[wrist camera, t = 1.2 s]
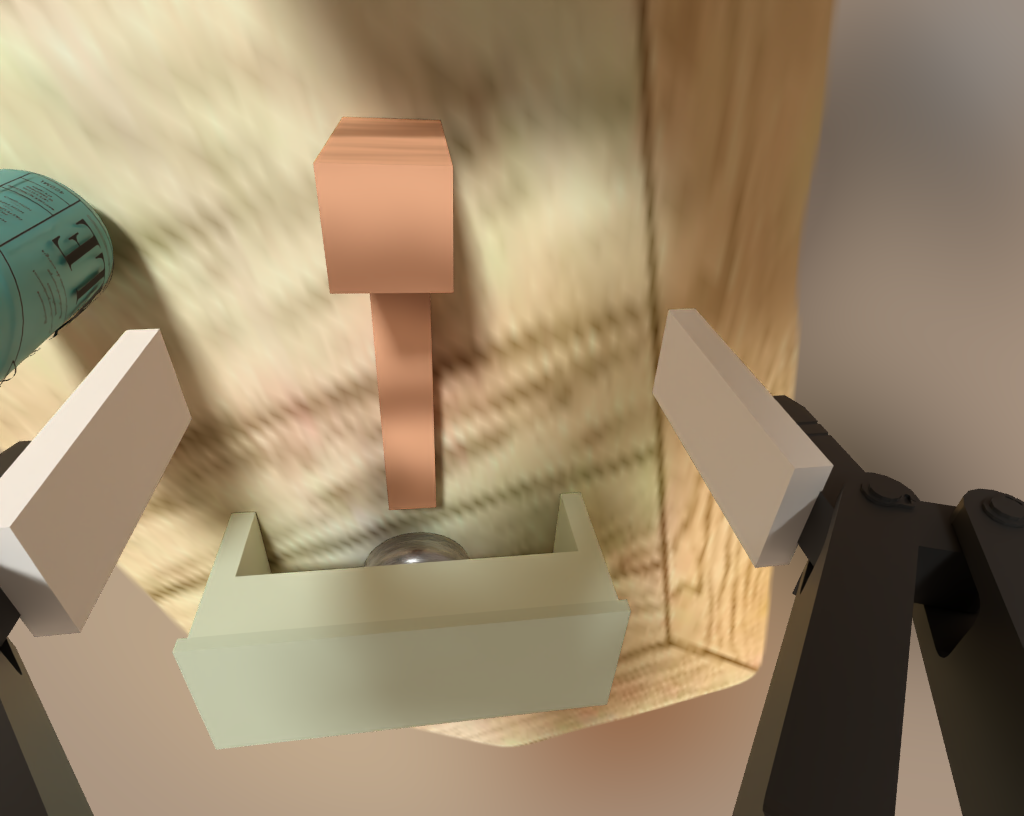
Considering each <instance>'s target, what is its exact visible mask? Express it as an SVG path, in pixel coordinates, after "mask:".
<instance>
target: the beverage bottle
mask: <svg viewBox="0 0 1024 816" xmlns="http://www.w3.org/2000/svg"><path fill="white" fill-rule="evenodd" d="M112 264H113V267H114V259H113V247H112V242H111V239H110V236H109V233H108V231H107V229H106V227H105V225H104V223H103V222H102V220H101V218H100V217H99V216H98V214H97V213H96V212H95V210H94V209H93V208H92V207H91V206H90V205H89V204H88V203H87V202H86V201H85V200H84V199H83V198H82V197H80V196H79V195H78V194H76V193H75V192H74V191H72V190H71V189H69V188H68V187H66V186H65V185H63V184H61V183H59V182H57V181H55V180H53V179H51V178H48V177H46V176H43V175H40V174H37V173H33V172H28V171H22V170H13V169H0V382H3V381H8V380H10V379H8V380H3V379H5V378H6V376H7V375H8V374H9V373H10V372H11V371H13V370H14V369H15V374H16V367H17V366H18V365H19V364H20V363H21V362H22V361H23V360H24V359H26V358H27V357H28V356H29V355H30V354H31V353H33V352H35V351H34V350H35V349H36V348H38V347H39V346H40V345H41V344H42V343H43V342H44V341H45V340H46V339H47V338H48V337H49V336H51V335H52V334H53V333H54V332H55V334H54V337H55V336H56V335H58V334H57V332H58V330H59V329H61V328H62V327H63V326H65V325H66V324H67V323H70V322H71V321H72V320H73V319H75V318H76V317H77V316H78V315H79V314H80V313H82V312H83V311H84V310H85V309H86V308H87V307H88V306H87V305H88V304H91V301H92V299H93V298H94V297H95V296H96V295H97V294H98V293H99V292H100V291H101V289H102V287H103V286H104V284H105V283H106V282H107V281H108V279H109V276H110V273H111V270H112ZM112 274H113V271H112ZM111 277H112V276H111ZM110 280H111V279H110ZM107 283H108V282H107ZM107 283H106V285H107ZM106 285H105V287H106ZM105 287H104V289H105ZM106 288H107V287H106ZM103 292H104V291H103ZM96 299H97V298H96ZM96 299H95V300H96ZM87 301H88V302H87ZM93 301H94V300H93ZM86 302H87V303H86ZM85 303H86V304H85ZM84 304H85V305H84ZM83 305H84V306H83ZM82 306H83V307H82ZM81 307H82V308H81ZM85 307H86V308H85ZM80 308H81V309H80ZM84 308H85V309H84ZM79 309H80V310H79ZM83 309H84V310H83ZM78 310H79V311H78ZM77 311H78V313H77V314H76V315H75V316H74V317H73V318H71V319H70V320H69V321H67V320H68V319H69V318H70V317H71V316H72V315H74V313H76V312H77ZM66 321H67V322H66ZM65 322H66V323H65ZM64 323H65V324H64ZM62 324H63V325H62ZM61 325H62V326H61ZM66 327H67V326H66ZM51 339H52V338H51ZM49 340H50V339H49ZM36 351H37V350H36ZM15 374H14V376H15ZM14 376H13V377H14ZM1 384H2V383H1ZM1 384H0V385H1ZM0 387H1V386H0Z"/></svg>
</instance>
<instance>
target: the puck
mask: <svg viewBox="0 0 1024 816" xmlns="http://www.w3.org/2000/svg"><path fill="white" fill-rule="evenodd" d="M466 559H469V558H468V555H467V553H466V552H465V550H464V549H463V548H462V547H461V546H460V545H459V544H458V543H456V542H455V541H453V540H451V539H450V538H447V537H445V536H442V535H438V534H433V533H424V532H418V533H408V534H403V535H399V536H396V537H393V538H391V539H388V540H386V541H385V542H383V543H381V544H380V545H378V546H377V547H376V548H375V549H374V550H373V551H372V552H371V553H370V554H369V556H368V558H367V559H366V562H365V565H364V567H372V566H385V565H398V564H412V563H425V562H439V561H452V560H466Z"/></svg>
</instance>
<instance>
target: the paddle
mask: <svg viewBox="0 0 1024 816" xmlns="http://www.w3.org/2000/svg"><path fill="white" fill-rule="evenodd" d="M313 164H314V172H315V180H316V188H317V195H318V203H319V211H320V219H321V226H322V234H323V242H324V250H325V258H326V265H327V273H328V281H329V289H330V294H335V293H370V300H371V311H372V322H373V334H374V345H375V356H376V367H377V379H378V390H379V401H380V413H381V424H382V435H383V447H384V458H385V469H386V480H387V492H388V503H389V510H398V509H415V508H431V507H436V485H435V449H434V413H433V377H432V341H431V305H430V293H453V165H452V161H451V158H450V154H449V150H448V146H447V143H446V139H445V135H444V132H443V128H442V124H441V120H418V119H390V118H361V117H342V119H341V120H340V122H339V123H338V125H337V127H336V128H335V130H334V131H333V133H332V134H331V136H330V138H329V139H328V141H327V142H326V144H325V145H324V147H323V149H322V150H321V152H320V153H319V155H318V156H317V158H316V160H315V161H314V163H313Z"/></svg>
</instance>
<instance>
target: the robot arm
mask: <svg viewBox="0 0 1024 816" xmlns="http://www.w3.org/2000/svg"><path fill="white" fill-rule="evenodd" d="M652 393H653V395H654V397H655V398H656V400H657V402H658V403H659V405H660V407H661V409H662V410H663V412H664V414H665V415H666V417H667V419H668V420H669V422H670V424H671V426H672V427H673V429H674V431H675V432H676V434H677V436H678V437H679V439H680V441H681V443H682V444H683V446H684V448H685V449H686V451H687V453H688V454H689V456H690V458H691V460H692V461H693V463H694V465H695V466H696V468H697V470H698V471H699V473H700V475H701V477H702V478H703V480H704V482H705V483H706V485H707V487H708V488H709V490H710V492H711V493H712V495H713V497H714V499H715V500H716V502H717V504H718V505H719V507H720V509H721V510H722V512H723V514H724V516H725V517H726V519H727V521H728V522H729V524H730V526H731V527H732V529H733V531H734V533H735V534H736V536H737V538H738V539H739V541H740V543H741V544H742V546H743V548H744V550H745V551H746V553H747V555H748V556H749V558H750V560H751V561H752V563H753V565H754V567H755V568H758V567H768V566H779V565H789V564H790V562H791V559H792V557H793V555H794V553H795V550H796V548H797V546H798V545H799V546H800V547H801V549H802V550H803V552H804V553H805V555H806V556H807V558H808V561H807V564H806V566H805V568H804V570H803V572H802V574H801V576H800V578H799V580H798V582H797V585H796V587H795V589H794V591H793V594H794V595H796V597H795V601H794V604H793V608H792V611H791V615H790V618H789V622H788V625H787V628H786V632H785V635H784V639H783V642H782V646H781V649H780V652H779V656H778V659H777V663H776V666H775V670H774V673H773V677H772V680H771V683H770V687H769V690H768V694H767V697H766V701H765V704H764V708H763V711H762V715H761V718H760V721H759V725H758V728H757V732H756V735H755V739H754V742H753V746H752V749H751V753H750V756H749V760H748V763H747V766H746V770H745V773H744V777H743V780H742V784H741V787H740V791H739V794H738V797H737V801H736V804H735V808H734V811H733V815H732V816H895V805H896V793H897V782H898V770H899V760H900V748H901V736H902V726H903V715H904V703H905V692H906V681H907V670H908V659H909V646H910V636H911V625H912V618H913V621H914V625H915V629H916V633H917V637H918V641H919V645H920V649H921V653H922V657H923V661H924V665H925V669H926V673H927V677H928V681H929V685H930V689H931V692H932V696H933V700H934V704H935V708H936V712H937V716H938V720H939V724H940V728H941V731H942V736H943V740H944V744H945V748H946V752H947V756H948V759H949V763H950V767H951V771H952V775H953V779H954V783H955V787H956V791H957V795H958V798H959V802H960V806H961V811H962V815H963V816H1024V502H1023V501H1021V500H1019V499H1018V498H1017V499H1016V498H1015V497H1013V496H1011V495H1008V494H1004V493H1001V492H998V491H994V490H987V489H975V490H970V491H968V492H967V493H966V494H965V495H964V496H963V498H962V499H961V501H960V502H959V504H958V505H957V507H955V506H949V505H942V504H936V503H930V502H923V501H920V500H919V499H918V497H917V496H916V495H915V494H914V493H913V491H911V490H910V489H909V488H907V487H906V486H905V485H903V484H902V483H900V482H898V481H896V480H894V479H892V478H889V477H887V476H884V475H880V474H876V473H869V472H867V473H866V472H864V470H862V468H861V467H860V466H859V465H858V464H857V463H856V462H855V461H854V460H853V459H852V458H851V457H850V455H849V454H847V452H846V451H845V450H844V449H843V448H842V447H841V446H840V445H839V444H838V443H837V442H836V440H835V439H834V438H833V437H832V436H831V435H829V436H828V432H827V431H826V430H825V429H824V428H823V427H822V426H821V425H820V424H817V420H816V419H815V418H814V417H813V416H812V415H811V414H810V413H809V412H808V411H807V410H806V408H805V407H803V406H801V405H800V404H798V403H797V402H795V401H793V400H792V399H790V398H788V397H787V396H785V395H782V396H772V395H771V394H770V393H769V392H768V391H767V389H766V388H765V387H764V386H763V385H762V384H761V383H760V381H759V380H758V379H757V378H756V377H755V376H754V375H753V374H752V372H751V371H750V370H749V369H748V368H747V367H746V366H745V364H744V363H743V362H742V361H741V360H740V359H739V358H738V356H737V355H736V354H735V353H734V352H733V351H732V350H731V349H730V347H729V346H728V345H727V344H726V343H725V342H724V341H723V339H722V338H721V337H720V336H719V335H718V334H717V333H716V332H715V330H714V329H713V328H712V327H711V326H710V325H709V324H708V322H707V321H706V320H705V319H704V318H703V317H702V316H701V314H700V313H699V312H698V311H697V310H696V309H695V308H692V309H669V310H668V315H667V320H666V325H665V330H664V335H663V340H662V346H661V351H660V356H659V361H658V366H657V371H656V376H655V381H654V387H653V392H652ZM191 420H192V417H191V415H190V412H189V409H188V406H187V403H186V401H185V398H184V395H183V392H182V390H181V387H180V384H179V381H178V378H177V376H176V373H175V370H174V367H173V365H172V362H171V359H170V356H169V353H168V351H167V348H166V345H165V342H164V340H163V337H162V334H161V331H160V329H139V330H126V331H125V332H124V333H123V335H122V336H121V337H120V338H119V339H118V340H117V342H116V343H115V344H114V345H113V346H112V347H111V349H110V350H109V351H108V352H107V353H106V354H105V356H104V357H103V358H102V359H101V360H100V362H99V363H98V364H97V365H96V366H95V367H94V369H93V370H92V371H91V372H90V373H89V374H88V376H87V377H86V378H85V379H84V380H83V381H82V383H81V384H80V385H79V386H78V387H77V389H76V390H75V391H74V392H73V393H72V394H71V396H70V397H69V398H68V399H67V400H66V401H65V403H64V404H63V405H62V406H61V407H60V409H59V410H58V411H57V412H56V413H55V414H54V416H53V417H52V418H51V419H50V420H49V421H48V423H47V424H46V425H45V426H44V427H43V428H42V430H41V431H40V432H39V433H38V434H37V436H36V437H35V438H34V439H33V440H32V441H19V442H18V443H16V444H14V445H13V446H11V447H10V448H8V449H7V450H5V451H4V452H2V453H1V454H0V816H94V815H93V813H92V811H91V809H90V806H89V804H88V802H87V800H86V798H85V796H84V793H83V791H82V789H81V787H80V785H79V783H78V780H77V778H76V776H75V774H74V772H73V770H72V768H71V765H70V763H69V761H68V759H67V757H66V755H65V752H64V750H63V748H62V746H61V744H60V742H59V740H58V737H57V735H56V733H55V731H54V729H53V727H52V724H51V723H50V720H49V718H48V716H47V714H46V711H45V709H44V707H43V705H42V703H41V701H40V698H39V697H38V694H37V692H36V690H35V688H34V686H33V684H32V681H31V679H30V677H29V675H28V673H27V670H26V669H25V666H24V664H23V662H22V660H21V658H20V656H19V653H18V651H17V649H16V647H15V646H14V645H13V643H12V642H11V641H10V640H9V638H8V637H7V636H8V635H9V633H10V632H11V630H12V629H13V627H14V625H15V624H16V622H17V620H18V619H19V617H20V618H21V620H22V621H23V622H24V624H25V625H26V626H27V628H28V629H29V630H30V632H31V633H32V634H33V636H34V637H40V636H51V635H61V634H71V633H80V632H81V630H82V628H83V626H84V625H85V623H86V621H87V619H88V617H89V615H90V613H91V611H92V609H93V607H94V605H95V604H96V602H97V600H98V598H99V596H100V594H101V592H102V590H103V588H104V586H105V584H106V582H107V581H108V578H109V577H110V575H111V573H112V571H113V569H114V567H115V565H116V563H117V561H118V559H119V558H120V556H121V554H122V552H123V550H124V548H125V546H126V544H127V542H128V540H129V538H130V536H131V535H132V533H133V531H134V529H135V527H136V525H137V523H138V521H139V519H140V517H141V515H142V513H143V512H144V510H145V508H146V506H147V504H148V502H149V500H150V498H151V496H152V494H153V492H154V490H155V489H156V487H157V485H158V483H159V481H160V479H161V477H162V475H163V473H164V471H165V469H166V467H167V466H168V464H169V462H170V460H171V458H172V456H173V454H174V452H175V450H176V448H177V446H178V444H179V443H180V441H181V439H182V437H183V435H184V433H185V431H186V429H187V427H188V425H189V423H190V421H191Z"/></svg>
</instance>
